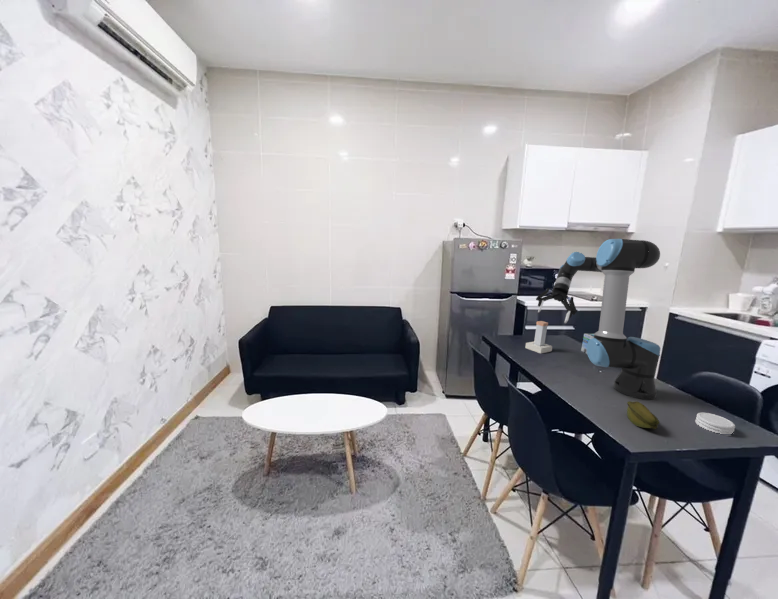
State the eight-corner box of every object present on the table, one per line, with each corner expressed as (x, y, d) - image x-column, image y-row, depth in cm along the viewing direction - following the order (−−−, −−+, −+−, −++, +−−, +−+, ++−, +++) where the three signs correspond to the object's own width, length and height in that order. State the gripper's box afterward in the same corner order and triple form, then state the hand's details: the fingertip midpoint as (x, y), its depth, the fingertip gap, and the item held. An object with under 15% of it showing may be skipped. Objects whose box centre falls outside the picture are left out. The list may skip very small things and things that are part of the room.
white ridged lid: (714, 421, 126) (717, 412, 125) (741, 437, 116) (744, 428, 115) (687, 419, 126) (689, 410, 125) (711, 435, 116) (714, 426, 115)
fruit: (615, 420, 122) (619, 403, 121) (628, 411, 129) (631, 395, 128) (654, 436, 113) (658, 418, 112) (665, 425, 120) (669, 408, 119)
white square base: (551, 352, 193) (552, 346, 192) (540, 355, 187) (541, 348, 187) (535, 347, 201) (536, 340, 200) (525, 349, 196) (526, 342, 195)
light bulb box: (580, 350, 200) (583, 333, 198) (591, 351, 200) (594, 333, 198) (593, 357, 189) (596, 338, 187) (604, 357, 190) (607, 339, 188)
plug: (544, 350, 193) (548, 322, 190) (539, 351, 191) (543, 323, 188) (537, 347, 197) (541, 320, 194) (532, 348, 195) (536, 321, 192)
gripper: (582, 300, 184) (574, 330, 173) (536, 282, 190) (526, 310, 180) (588, 292, 178) (581, 322, 167) (541, 274, 184) (530, 302, 174)
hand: (552, 316), depth 173 cm, fingers open, 13 cm apart
